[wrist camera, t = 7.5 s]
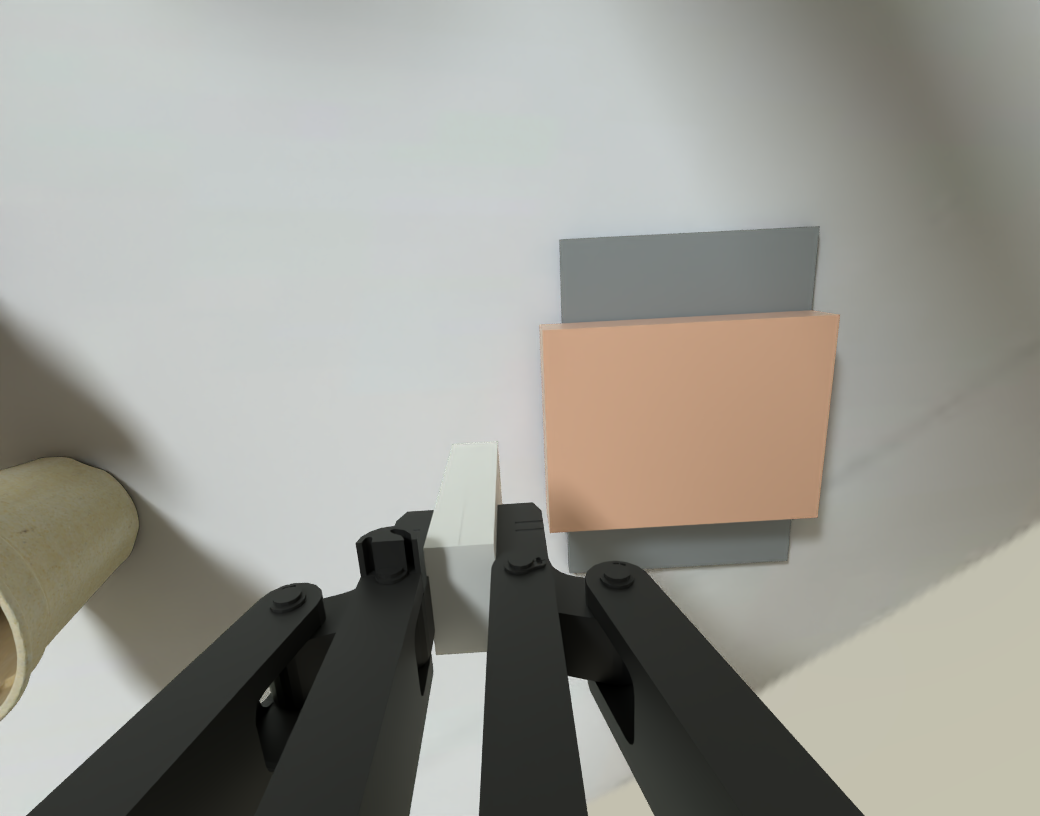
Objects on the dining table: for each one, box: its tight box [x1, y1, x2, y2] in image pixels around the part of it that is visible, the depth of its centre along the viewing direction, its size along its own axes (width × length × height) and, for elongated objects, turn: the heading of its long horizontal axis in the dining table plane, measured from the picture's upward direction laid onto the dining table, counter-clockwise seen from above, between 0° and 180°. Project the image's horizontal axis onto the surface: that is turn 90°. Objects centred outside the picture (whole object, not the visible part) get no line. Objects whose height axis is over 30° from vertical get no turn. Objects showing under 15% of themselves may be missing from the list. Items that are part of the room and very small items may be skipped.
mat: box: [559, 226, 820, 573], centre depth 25 cm, size 16×11×1 cm
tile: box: [539, 310, 840, 533], centre depth 24 cm, size 9×2×12 cm
